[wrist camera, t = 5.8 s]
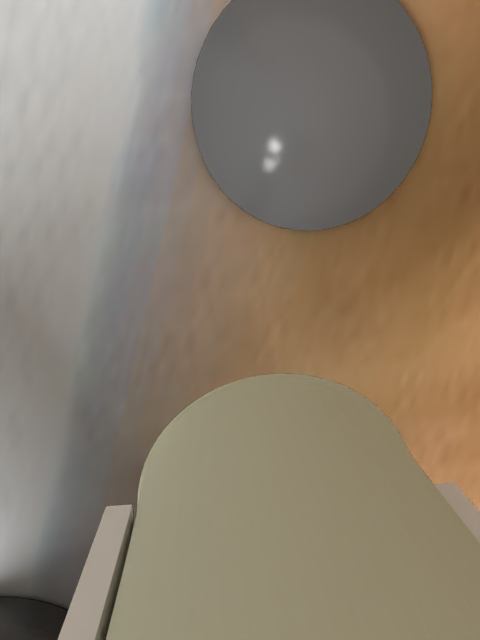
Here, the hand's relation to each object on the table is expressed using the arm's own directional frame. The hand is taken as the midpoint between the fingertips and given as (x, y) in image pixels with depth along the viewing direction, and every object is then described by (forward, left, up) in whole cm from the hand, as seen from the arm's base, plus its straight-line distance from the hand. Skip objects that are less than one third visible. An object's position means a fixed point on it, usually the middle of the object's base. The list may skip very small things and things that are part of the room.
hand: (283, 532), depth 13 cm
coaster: (+3, +14, -13) cm, 19 cm away
